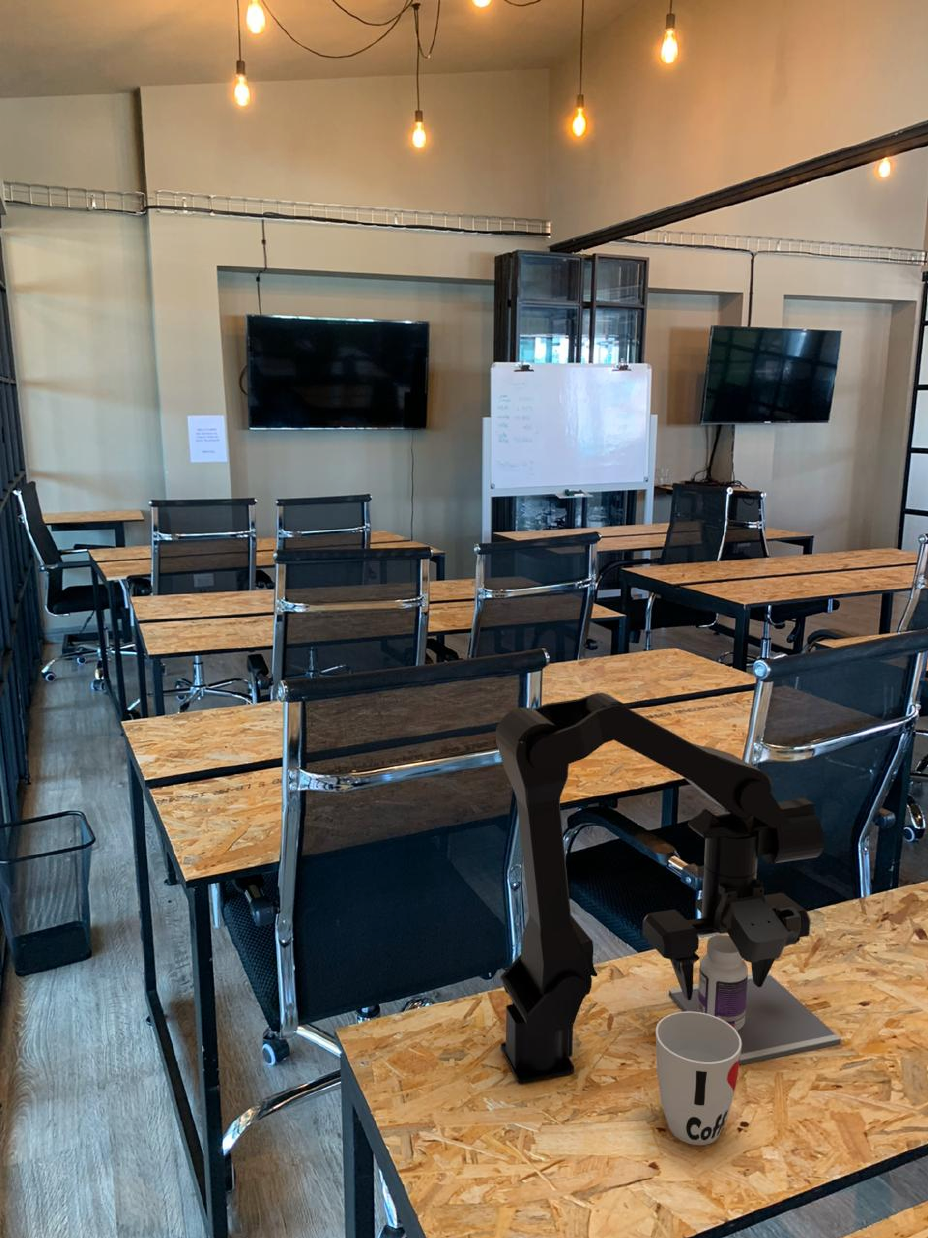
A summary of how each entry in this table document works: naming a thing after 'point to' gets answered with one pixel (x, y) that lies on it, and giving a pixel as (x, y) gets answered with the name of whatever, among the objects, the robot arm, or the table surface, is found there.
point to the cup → (696, 1074)
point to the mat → (771, 1022)
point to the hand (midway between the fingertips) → (722, 992)
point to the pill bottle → (723, 982)
